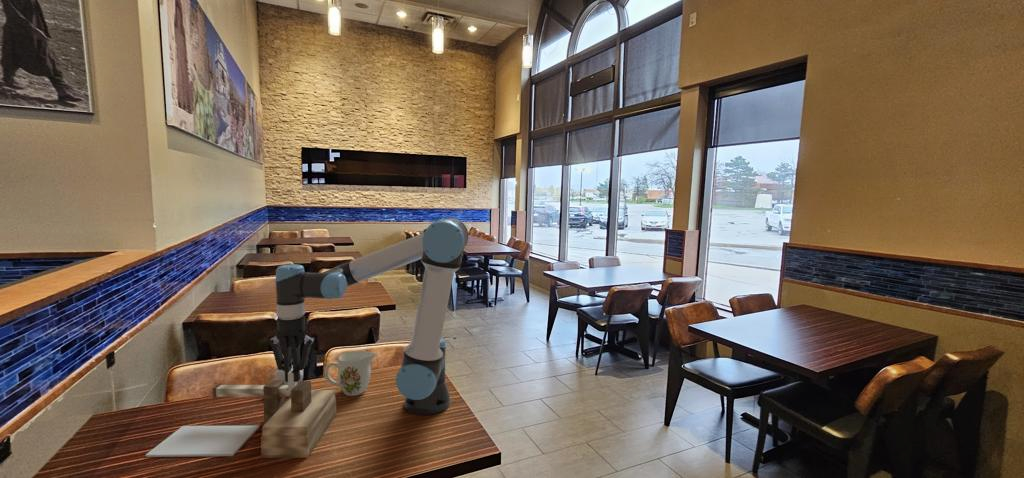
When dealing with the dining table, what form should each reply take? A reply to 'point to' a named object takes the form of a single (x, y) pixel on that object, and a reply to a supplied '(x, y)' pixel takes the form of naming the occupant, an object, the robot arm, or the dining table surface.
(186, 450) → the light grey flat board
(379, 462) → the dining table surface
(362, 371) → the pitcher
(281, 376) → the toy
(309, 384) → the lid
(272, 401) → the light wood open box
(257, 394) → the beige wooden bar
